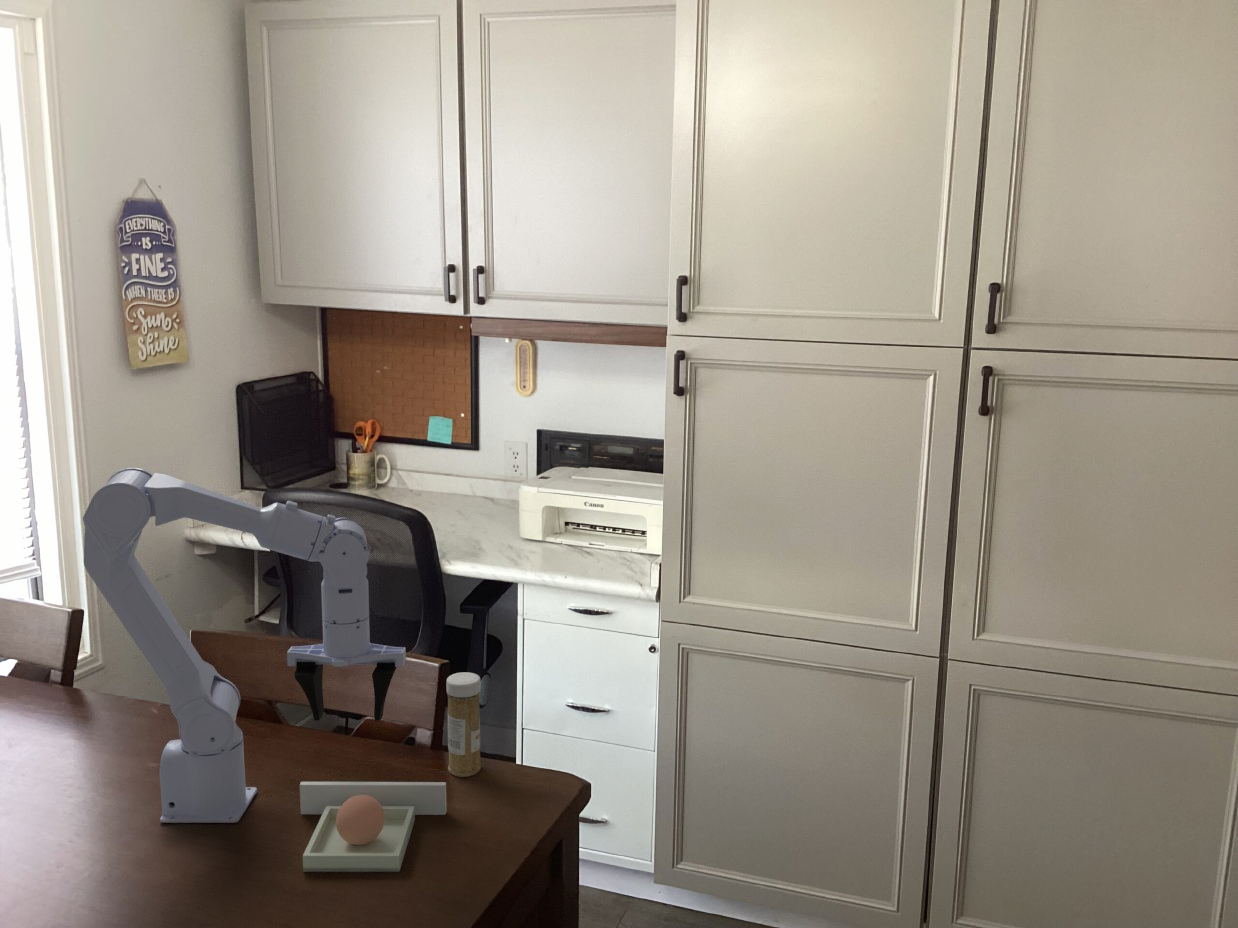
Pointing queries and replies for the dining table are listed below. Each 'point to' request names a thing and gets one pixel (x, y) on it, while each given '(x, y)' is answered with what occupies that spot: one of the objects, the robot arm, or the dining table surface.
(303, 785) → the acrylic wall
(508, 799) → the dining table surface
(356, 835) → the ball
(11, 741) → the dining table surface
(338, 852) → the tray
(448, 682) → the spice bottle
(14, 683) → the dining table surface
